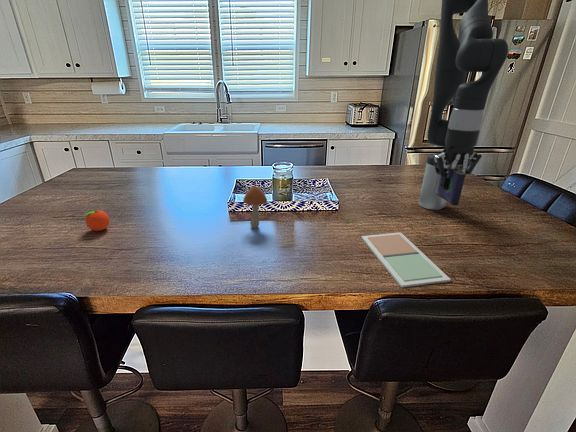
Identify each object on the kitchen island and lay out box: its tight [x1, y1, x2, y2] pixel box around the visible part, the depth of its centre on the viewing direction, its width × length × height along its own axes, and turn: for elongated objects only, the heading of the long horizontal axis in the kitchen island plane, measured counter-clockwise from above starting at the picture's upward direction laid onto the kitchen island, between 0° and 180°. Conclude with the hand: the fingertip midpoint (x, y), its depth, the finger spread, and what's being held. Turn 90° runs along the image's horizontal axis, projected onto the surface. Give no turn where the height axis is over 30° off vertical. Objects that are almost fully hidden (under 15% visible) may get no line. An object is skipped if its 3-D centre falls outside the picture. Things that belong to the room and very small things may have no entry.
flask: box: [436, 165, 467, 207], centre depth 89 cm, size 9×3×11 cm, turn 8°
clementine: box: [81, 209, 111, 232], centre depth 106 cm, size 8×7×7 cm
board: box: [360, 232, 451, 288], centre depth 93 cm, size 14×26×1 cm, turn 11°
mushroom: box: [242, 185, 268, 229], centre depth 107 cm, size 8×8×15 cm
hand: (449, 188), depth 90 cm, fingers closed on flask, 3 cm apart
